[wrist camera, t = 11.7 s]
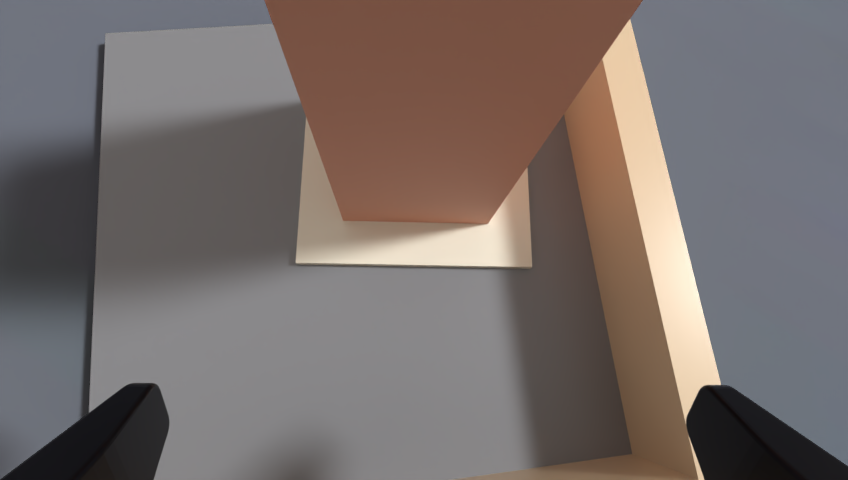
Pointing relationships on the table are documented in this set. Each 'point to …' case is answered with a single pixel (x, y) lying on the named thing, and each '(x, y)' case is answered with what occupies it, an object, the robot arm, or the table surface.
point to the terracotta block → (437, 94)
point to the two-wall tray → (386, 288)
